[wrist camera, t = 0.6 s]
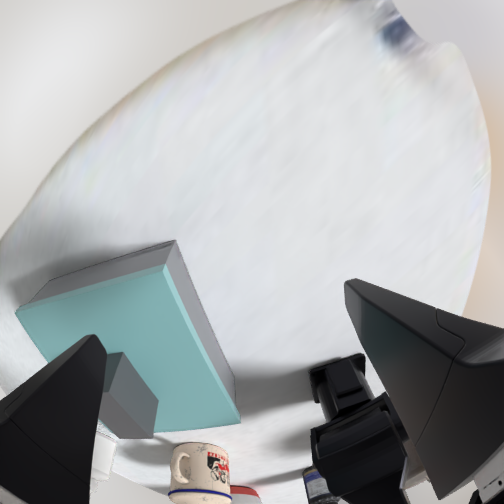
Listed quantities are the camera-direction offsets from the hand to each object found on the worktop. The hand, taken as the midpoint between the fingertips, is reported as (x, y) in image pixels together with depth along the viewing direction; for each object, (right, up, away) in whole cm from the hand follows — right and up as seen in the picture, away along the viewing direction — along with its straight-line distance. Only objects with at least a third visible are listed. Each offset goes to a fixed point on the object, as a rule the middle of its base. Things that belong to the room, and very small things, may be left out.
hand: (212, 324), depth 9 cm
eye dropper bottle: (-23, -27, +24) cm, 43 cm away
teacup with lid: (-7, -28, +26) cm, 39 cm away
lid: (-9, -7, +13) cm, 17 cm away
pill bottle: (+14, -40, +33) cm, 54 cm away
